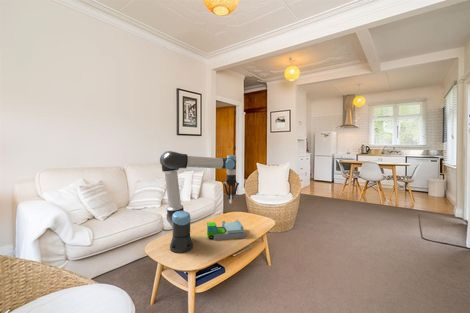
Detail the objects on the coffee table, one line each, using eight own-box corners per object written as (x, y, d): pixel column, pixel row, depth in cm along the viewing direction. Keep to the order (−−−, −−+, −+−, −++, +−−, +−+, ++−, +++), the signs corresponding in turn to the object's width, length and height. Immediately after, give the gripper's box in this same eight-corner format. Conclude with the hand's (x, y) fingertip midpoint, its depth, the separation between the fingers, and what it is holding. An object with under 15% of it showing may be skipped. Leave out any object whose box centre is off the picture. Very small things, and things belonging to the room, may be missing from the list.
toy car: (225, 239, 168) (226, 225, 167) (207, 240, 165) (207, 226, 165) (224, 233, 178) (224, 221, 177) (206, 234, 175) (207, 222, 175)
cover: (226, 238, 167) (226, 228, 166) (221, 229, 185) (221, 219, 185) (243, 237, 170) (243, 226, 170) (237, 228, 188) (237, 218, 188)
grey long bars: (214, 240, 165) (214, 234, 165) (211, 232, 181) (211, 227, 181) (245, 237, 170) (245, 232, 170) (240, 229, 186) (240, 224, 186)
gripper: (224, 175, 178) (223, 204, 179) (240, 174, 181) (239, 204, 182) (222, 173, 186) (222, 202, 187) (238, 173, 188) (237, 201, 189)
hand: (230, 203), depth 184 cm, fingers closed
